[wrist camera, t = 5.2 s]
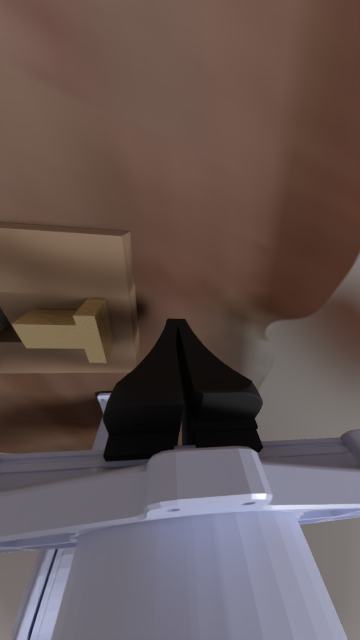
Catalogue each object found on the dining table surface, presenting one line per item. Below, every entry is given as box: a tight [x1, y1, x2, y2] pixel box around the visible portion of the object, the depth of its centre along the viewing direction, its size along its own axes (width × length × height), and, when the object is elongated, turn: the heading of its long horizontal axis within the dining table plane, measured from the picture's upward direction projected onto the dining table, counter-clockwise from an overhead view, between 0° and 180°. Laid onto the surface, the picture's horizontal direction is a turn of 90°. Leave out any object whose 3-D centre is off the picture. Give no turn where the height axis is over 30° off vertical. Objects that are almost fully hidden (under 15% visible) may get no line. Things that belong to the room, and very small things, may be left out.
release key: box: [12, 298, 115, 363], centre depth 11 cm, size 4×5×2 cm
